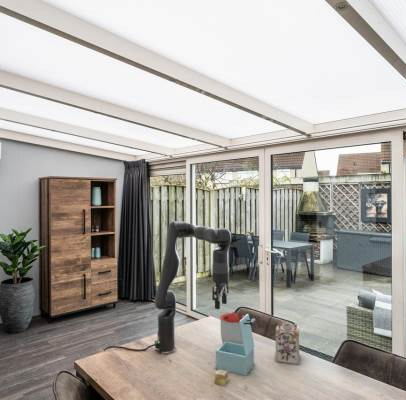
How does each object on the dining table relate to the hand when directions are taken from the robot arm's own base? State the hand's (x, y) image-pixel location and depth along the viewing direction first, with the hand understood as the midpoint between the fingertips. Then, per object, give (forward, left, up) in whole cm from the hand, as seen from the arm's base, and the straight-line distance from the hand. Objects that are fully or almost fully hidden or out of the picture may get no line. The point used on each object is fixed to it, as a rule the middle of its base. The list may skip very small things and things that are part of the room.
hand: (220, 306), depth 152 cm
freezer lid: (+16, +8, -18) cm, 25 cm away
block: (0, 0, -35) cm, 35 cm away
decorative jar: (+42, +12, -35) cm, 56 cm away
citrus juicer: (+21, +34, -35) cm, 53 cm away
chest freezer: (+12, +12, -35) cm, 39 cm away
